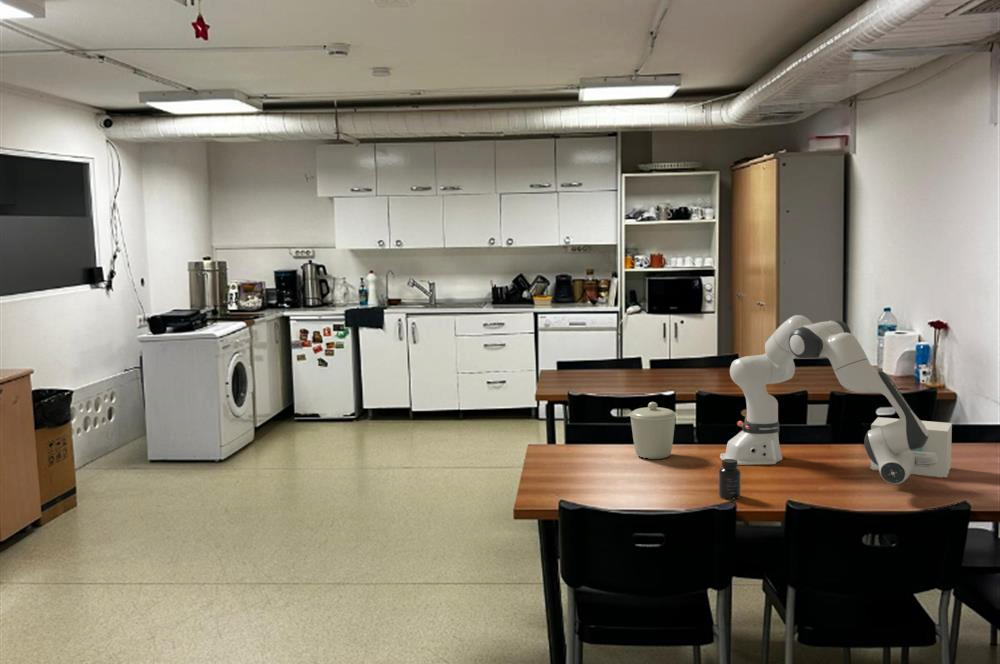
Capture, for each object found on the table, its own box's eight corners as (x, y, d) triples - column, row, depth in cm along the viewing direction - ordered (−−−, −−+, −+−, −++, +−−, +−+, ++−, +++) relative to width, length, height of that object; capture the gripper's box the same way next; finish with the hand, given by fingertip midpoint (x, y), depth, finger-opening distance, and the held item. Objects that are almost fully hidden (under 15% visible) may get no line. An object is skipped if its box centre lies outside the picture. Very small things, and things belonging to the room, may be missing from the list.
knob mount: (946, 477, 296) (947, 431, 294) (870, 469, 309) (871, 424, 307) (950, 467, 308) (951, 423, 306) (877, 460, 321) (877, 417, 319)
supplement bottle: (715, 494, 286) (715, 458, 285) (736, 493, 287) (736, 457, 285) (722, 500, 279) (722, 463, 278) (743, 499, 280) (743, 462, 279)
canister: (674, 463, 325) (673, 407, 322) (625, 461, 331) (624, 406, 328) (680, 451, 342) (679, 398, 339) (633, 449, 348) (633, 397, 345)
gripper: (935, 454, 279) (940, 445, 290) (867, 448, 289) (874, 439, 301) (935, 474, 279) (940, 464, 291) (866, 467, 290) (873, 457, 302)
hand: (906, 451), depth 296 cm, fingers closed
